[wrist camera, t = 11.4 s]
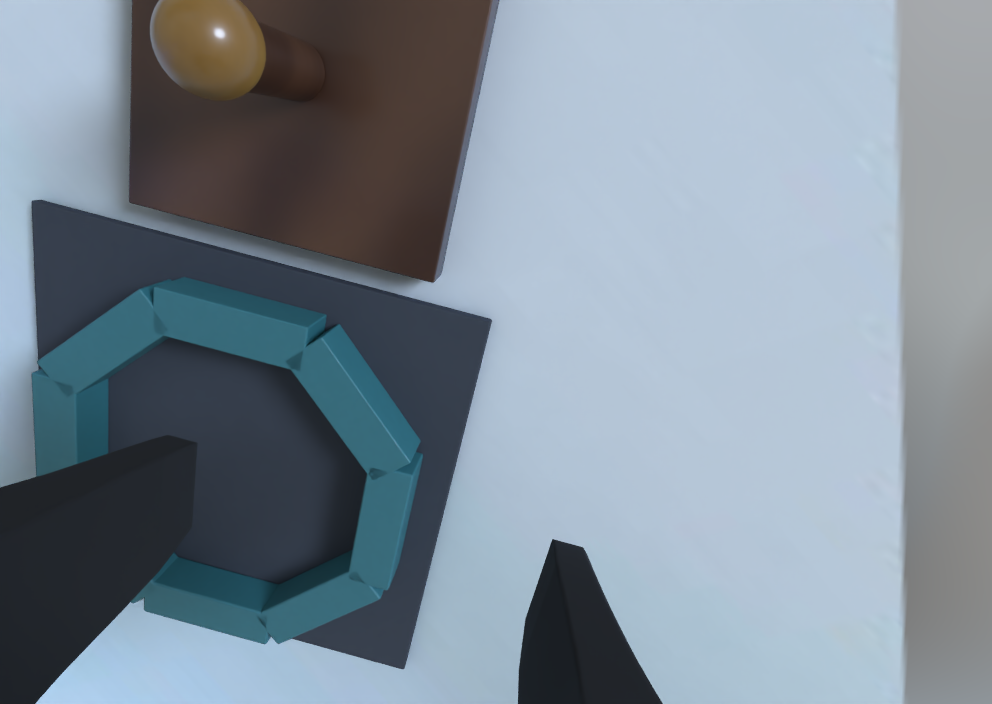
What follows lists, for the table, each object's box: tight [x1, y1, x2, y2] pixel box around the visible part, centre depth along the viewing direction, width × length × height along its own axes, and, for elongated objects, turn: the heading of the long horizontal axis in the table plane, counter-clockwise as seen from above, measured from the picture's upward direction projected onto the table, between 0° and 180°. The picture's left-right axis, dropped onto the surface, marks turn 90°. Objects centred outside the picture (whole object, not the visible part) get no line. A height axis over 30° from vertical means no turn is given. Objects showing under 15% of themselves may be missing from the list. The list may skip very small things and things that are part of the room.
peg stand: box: [129, 0, 499, 283], centre depth 14 cm, size 10×10×7 cm
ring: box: [32, 277, 423, 644], centre depth 21 cm, size 14×14×2 cm
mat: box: [32, 200, 492, 669], centre depth 22 cm, size 16×16×1 cm
